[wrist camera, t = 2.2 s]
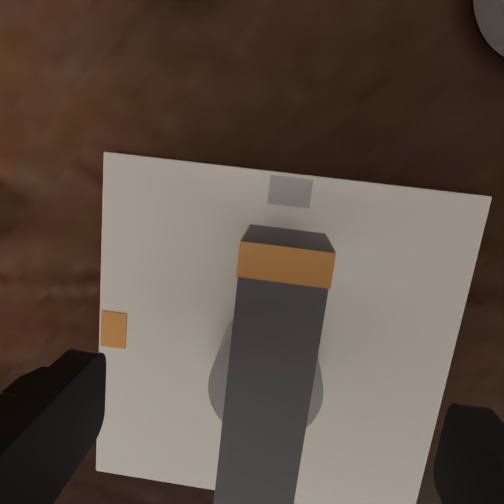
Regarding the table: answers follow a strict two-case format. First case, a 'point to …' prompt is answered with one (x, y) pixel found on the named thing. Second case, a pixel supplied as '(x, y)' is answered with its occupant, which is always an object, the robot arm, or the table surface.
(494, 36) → the ramekin
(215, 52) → the table surface
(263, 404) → the handle
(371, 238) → the base
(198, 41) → the table surface
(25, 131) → the table surface
